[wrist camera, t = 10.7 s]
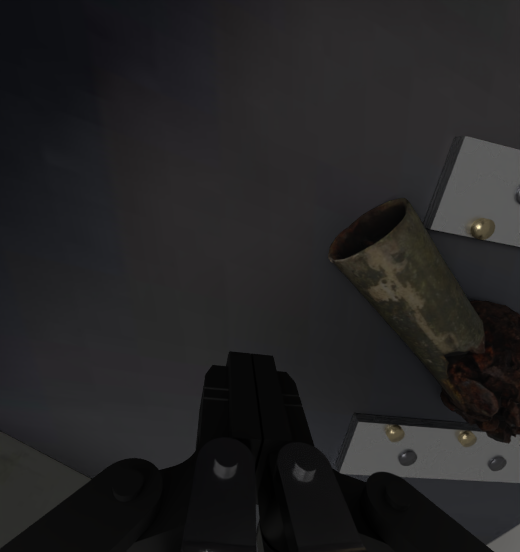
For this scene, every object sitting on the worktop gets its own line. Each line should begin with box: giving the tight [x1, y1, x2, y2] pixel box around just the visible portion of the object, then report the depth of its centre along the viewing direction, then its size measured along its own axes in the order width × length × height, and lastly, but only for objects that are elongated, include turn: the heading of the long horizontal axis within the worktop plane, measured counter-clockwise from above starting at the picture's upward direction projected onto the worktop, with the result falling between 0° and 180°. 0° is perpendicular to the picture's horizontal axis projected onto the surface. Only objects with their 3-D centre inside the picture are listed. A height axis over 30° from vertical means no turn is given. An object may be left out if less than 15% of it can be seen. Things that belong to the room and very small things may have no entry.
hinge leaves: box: [336, 136, 520, 483], centre depth 22 cm, size 24×18×1 cm
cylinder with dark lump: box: [328, 198, 520, 444], centre depth 19 cm, size 18×7×6 cm, turn 40°
